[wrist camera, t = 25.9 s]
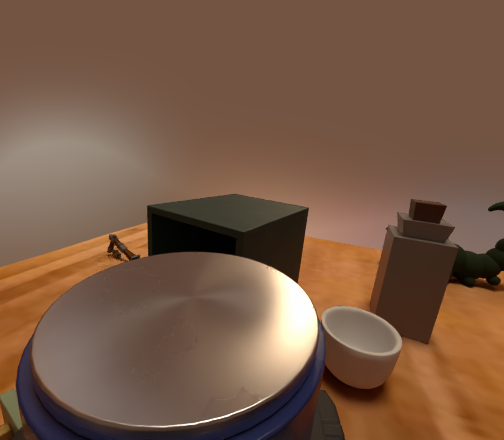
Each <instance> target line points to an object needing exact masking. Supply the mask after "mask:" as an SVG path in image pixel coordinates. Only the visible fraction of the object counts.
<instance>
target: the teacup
mask: <svg viewBox="0 0 504 440" xmlns="http://www.w3.org/2000/svg"><path fill="white" fill-rule="evenodd" d="M321 325H322V329H323V333H324V336H325V343H326V358H325V365H326V366H327V368H328V369H329V371H330V372H331V373H332V374H333V375H334V376H335V377H336V378H338V379H339V380H340V381H342V382H343V383H345V384H347V385H349V386H352V387H355V388H360V389H371V388H375V387H378V386H380V385H381V384H383V383H384V382H385V381H386V380H387V379H388V377H389V376H390V375H391V373H392V371H393V369H394V367H395V364H396V362H397V360H398V357H399V354H400V351H401V348H402V339H401V337H400V335H399V333H398V332H397V330H396V329H395V328H394V327H393V326H392V325H390V324H389V323H388V322H387V321H385V320H384V319H382V318H380V317H379V316H377V315H375V314H373V313H370V312H368V311H365V310H362V309H359V308H354V307H348V306H336V307H332V308H329V309H327V310H325V311H324V313H323V314H322V317H321Z"/></svg>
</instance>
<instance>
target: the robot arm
mask: <svg viewBox="0 0 504 440" xmlns="http://www.w3.org/2000/svg"><path fill="white" fill-rule="evenodd" d="M10 440H24V434H23V429H22V427H21V428H20V429H19V430H18V431H17V432H16V433H15V435H14V436H13V437H12V438H11V439H10ZM310 440H345V438H344V433H343V430H342V426H341V425H340V420H339V416H338V413H337V410H336V407H335V404H334V403H333V401H332V400H331V398H330V397H329V396H328V394H327V393H326V391H323V390H320V392H319V397H318V402H317V408H316V413H315V418H314V423H313V428H312V433H311V438H310Z"/></svg>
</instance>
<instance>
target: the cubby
mask: <svg viewBox="0 0 504 440" xmlns="http://www.w3.org/2000/svg"><path fill="white" fill-rule="evenodd" d="M308 210H309V208H308V207H303V206H298V205H292V204H287V203H281V202H276V201H271V200H265V199H260V198H254V197H248V196H244V195H238V194H230V195H223V196H215V197H208V198H200V199H193V200H186V201H178V202H170V203H163V204H155V205H148V206H147V217H148V256H154V255H159V254H168V253H179V252H210V253H220V254H228V255H233V256H238V257H243V258H247V259H250V260H254V261H257V262H260V263H262V264H265V265H267V266H269V267H272V268H274V269H276V270H278V271H279V272H281V273H283V274H285V275H286V276H288V277H289V278H291V279H292V280H293V281H294V282H295V283H297V284H298V277H299V270H300V264H301V257H302V250H303V243H304V236H305V230H306V223H307V216H308Z"/></svg>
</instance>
